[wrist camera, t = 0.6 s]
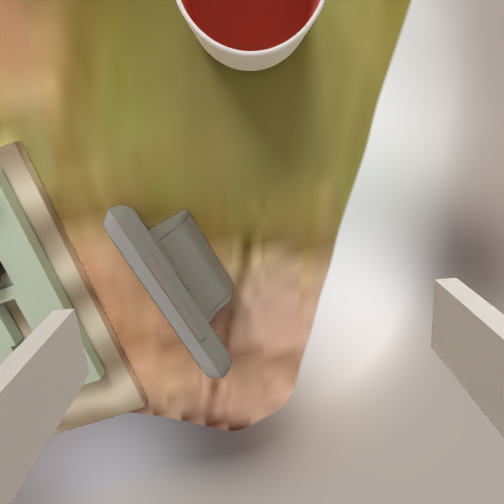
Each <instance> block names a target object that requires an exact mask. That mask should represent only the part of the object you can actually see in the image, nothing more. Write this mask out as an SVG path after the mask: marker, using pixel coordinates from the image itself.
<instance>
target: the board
mask: <svg viewBox="0 0 504 504" xmlns="http://www.w3.org/2000/svg"><path fill="white" fill-rule="evenodd" d="M0 167H1V169H2V171H3V173H4V175H5V177H6V179H7V181H8V183H9V185H10V187H11V189H12V191H13V193H14V195H15V197H16V199H17V201H18V202H19V204H20V206H21V208H22V210H23V212H24V214H25V216H26V218H27V220H28V222H29V224H30V226H31V228H32V230H33V232H34V234H35V236H36V237H37V239H38V241H39V243H40V245H41V247H42V249H43V251H44V253H45V255H46V257H47V259H48V261H49V263H50V265H51V267H52V269H53V271H54V273H55V274H56V276H57V278H58V280H59V282H60V284H61V286H62V288H63V290H64V292H65V294H66V296H67V298H68V300H69V302H70V304H71V306H72V308H73V309H75V313H76V315H77V317H78V319H79V321H80V323H81V325H82V327H83V329H84V331H85V333H86V335H87V337H88V339H89V341H90V343H91V345H92V347H93V348H94V350H95V352H96V354H97V356H98V358H99V360H100V362H101V364H102V366H103V368H104V370H105V373H104V375H103V377H102V378H101V380H98V381H94V382H91V383H88V384H85V385H82V387H81V389H80V390H79V392H78V394H77V395H76V397H75V399H74V400H73V402H72V404H71V405H70V407H69V409H68V410H67V412H66V413H65V415H64V417H63V418H62V420H61V422H60V423H59V425H58V427H57V428H56V430H55V432H54V433H53V434H56V433H60V432H63V431H67V430H70V429H73V428H76V427H80V426H83V425H86V424H90V423H93V422H96V421H100V420H103V419H106V418H110V417H113V416H116V415H120V414H123V413H126V412H130V411H133V410H136V409H139V408H143V407H145V406H146V403H147V397H146V395H145V393H144V391H143V389H142V387H141V385H140V383H139V381H138V379H137V377H136V375H135V373H134V371H133V369H132V367H131V365H130V363H129V361H128V359H127V357H126V355H125V353H124V351H123V349H122V346H121V344H120V342H119V340H118V338H117V336H116V334H115V332H114V330H113V328H112V326H111V324H110V322H109V320H108V318H107V316H106V314H105V312H104V310H103V308H102V306H101V304H100V302H99V300H98V298H97V295H96V293H95V291H94V289H93V287H92V285H91V283H90V281H89V279H88V277H87V275H86V273H85V271H84V269H83V267H82V265H81V263H80V261H79V259H78V257H77V255H76V253H75V251H74V249H73V247H72V245H71V242H70V240H69V238H68V236H67V234H66V232H65V230H64V228H63V226H62V224H61V222H60V220H59V218H58V216H57V214H56V212H55V210H54V208H53V206H52V204H51V202H50V200H49V198H48V196H47V194H46V191H45V189H44V187H43V185H42V183H41V181H40V179H39V177H38V175H37V173H36V171H35V169H34V167H33V165H32V163H31V161H30V159H29V157H28V155H27V153H26V151H25V149H24V147H23V145H22V143H21V141H20V142H13V143H10V144H7V145H5V146H2V147H0ZM9 284H12V281H11V279H10V277H9V276H8V274H7V272H6V270H5V268H4V266H3V265H2V263H1V261H0V287H3V286H6V285H9ZM4 305H5V307H6V308H7V310H8V312H9V314H10V315H11V317H12V319H13V321H14V322H15V324H16V326H17V328H18V329H19V331H20V333H21V335H22V337H23V339H22V340H21V341H20V342H19V343H20V344H21V343H22V342H23V341H24V340H25V339H26V338H27V337H28V336H29V335H30V334H31V333H32V332H33V331H32V329H31V328H30V326H29V324H28V322H27V320H26V319H25V317H24V315H23V313H22V311H21V310H20V308H19V306H18V304H17V302H16V301H15V299H12V300H9V301H6V302H4Z"/></svg>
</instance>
